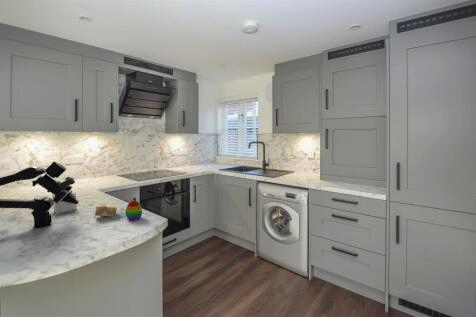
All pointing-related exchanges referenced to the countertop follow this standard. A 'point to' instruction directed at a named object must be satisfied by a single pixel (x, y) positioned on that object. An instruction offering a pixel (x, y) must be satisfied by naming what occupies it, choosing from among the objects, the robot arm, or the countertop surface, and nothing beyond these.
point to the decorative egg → (133, 210)
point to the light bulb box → (64, 205)
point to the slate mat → (118, 215)
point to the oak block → (106, 210)
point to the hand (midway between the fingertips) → (77, 203)
